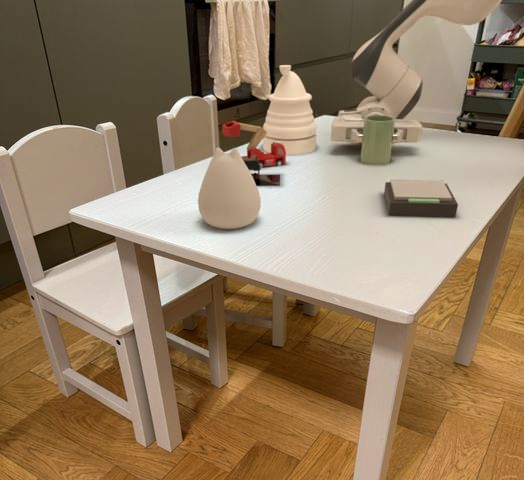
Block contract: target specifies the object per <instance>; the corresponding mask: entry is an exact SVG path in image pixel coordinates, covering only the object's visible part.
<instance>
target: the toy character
mask: <svg viewBox="0 0 524 480" xmlns="http://www.w3.org/2000/svg"><path fill="white" fill-rule="evenodd" d="M251 174H252V173H251V170H249V169H248V168H247V166H246V164H245V163H244V161H243V159H242V157H241V154H240V152H239V150H238V149H237V147H233V149H232V150H231V151H229V152H224V151H223V149H221V147H216V149H215V151H214V153H213V155H212V158H211V159H210V162H209V165H208V167H207V169H206V171H205V174H204V176H203V178H202V182H201V185H200V188H199V191H198V196H197V197H198V198H197V205H198V211H199V213H200V216H201V218H202V220H203V221H204V222H205V223H206V224H208V225H209V226H211V227H213V228H216V229H221V230H236V229H241V228H245V227H246V226H249V225H252V223H254V222H255V221H256V219H257V218H258V217H259V213H260V210H261V207H262V206H261V205H262V204H261V202H262V201H261V194H260V191H259V189H258V186H256V184H255V181H254V179H253V177H252V175H251Z"/></svg>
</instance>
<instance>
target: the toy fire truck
mask: <svg viewBox="0 0 524 480" xmlns="http://www.w3.org/2000/svg"><path fill="white" fill-rule="evenodd" d="M241 130H242V131H247V132H252V133H253V135H252V137H251V139H250V140H249V143H248V145H247V147H246V155H242V156H241V155H240V156H241V157H248V159H250V158H251V157H258V161H260V165H261V167H260V168H261V169H263V168H264V167H274V166H277V167H280V166H282V165H286V164H287V163H286V162H287V155H286V150H285V147H284V145H283V144H280V143H275V142H273V143H271V153H268V152H266V153H265V151H262V150H261V149H260V148H257V147H258V146H259V144H260V143H261V142H262V141H263V138H264V136H265V135H266V134H267V132H266V131H265V130H264V129H263V126H260V125H258V126H257V125H253V124H246V123H242V122H237V121H236V120H232V121H229V122H226V123H224V124H222V129H221V131H222V135H224V136H225V137H227V138H231V137H232V138H233V137H234V138H235V137H240V136H241V135H240V134H241Z"/></svg>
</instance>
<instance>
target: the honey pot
mask: <svg viewBox="0 0 524 480" xmlns="http://www.w3.org/2000/svg"><path fill="white" fill-rule="evenodd" d="M291 68H292V65H290V64H281V65H279V68H278V69H279V72H280V74H281V75H282V76H281V77H280V79H279V80H278V83H277V85H276V87H275V89H274V92H273V93H271V94H270V95H268V100H269V102H270V104H269V106H268V109H267V111H266V116H265V121H264V123H263V126H262V128H263V129H264V130H265V131H266V132H267V134H266V135H265V136H264V138H263V139H262V146H263V147H262V149H263V152H266V153H271V143H273V142H275V143H280V144H283V145H284V147H285V150H286V156H299V155H306V154H309V153H312V152H314V151H316V149H317V124H316V122H315V116H314V115H313V114H314V113H313V109H312V107H311V104H310V101H311V100H312V99H313V96H312V94H311V93H309V92H307V91H306V88H305V85H304V83H303V81H302V79H301V78H300V76H299V75H298V74H297V73H295V71H291Z"/></svg>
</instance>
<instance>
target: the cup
mask: <svg viewBox="0 0 524 480" xmlns="http://www.w3.org/2000/svg"><path fill="white" fill-rule="evenodd" d="M394 124H395V118H393V117H390V116H383V115H374V116H367V117H365V118H364V127H363V142H362V143H361V150H360V162H361V163H363V164H365V165H372V166H380V165H382V166H383V165H387V164H389V163H390V162H391V161H390V160H391V156H392V155H391V154H392V148H393V147H392V146H393V143H392V139H393V132H394Z"/></svg>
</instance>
